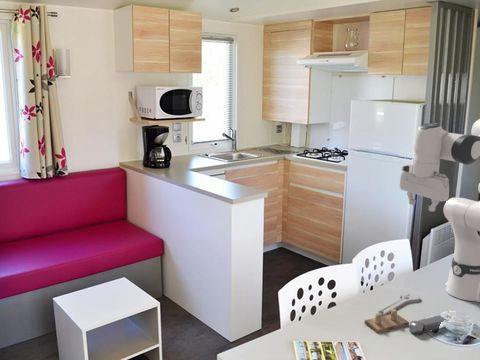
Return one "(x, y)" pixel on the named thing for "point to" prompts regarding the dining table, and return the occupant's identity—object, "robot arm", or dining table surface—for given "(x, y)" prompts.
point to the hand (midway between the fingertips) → (421, 207)
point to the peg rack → (386, 322)
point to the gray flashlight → (425, 325)
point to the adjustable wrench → (399, 303)
